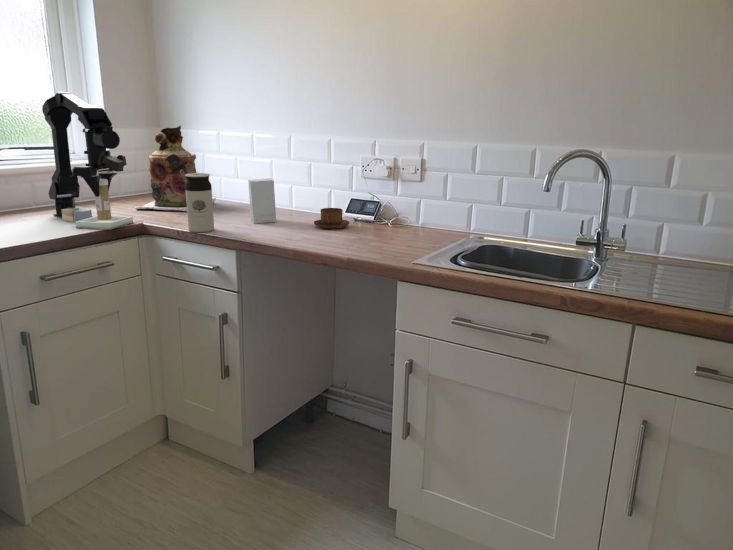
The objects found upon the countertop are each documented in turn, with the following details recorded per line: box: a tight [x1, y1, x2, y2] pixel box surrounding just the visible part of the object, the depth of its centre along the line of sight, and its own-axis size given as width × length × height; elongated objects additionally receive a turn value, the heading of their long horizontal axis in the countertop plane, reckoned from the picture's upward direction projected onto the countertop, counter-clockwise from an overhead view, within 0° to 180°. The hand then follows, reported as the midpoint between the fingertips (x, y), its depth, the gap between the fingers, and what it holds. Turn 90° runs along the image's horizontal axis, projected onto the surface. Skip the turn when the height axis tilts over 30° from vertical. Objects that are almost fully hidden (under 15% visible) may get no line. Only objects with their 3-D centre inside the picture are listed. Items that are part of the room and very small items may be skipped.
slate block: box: [73, 208, 93, 223], centre depth 195 cm, size 4×4×4 cm
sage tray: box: [74, 215, 134, 230], centre depth 190 cm, size 13×13×2 cm
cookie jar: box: [134, 124, 217, 212], centre depth 225 cm, size 25×25×32 cm
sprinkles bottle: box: [94, 179, 112, 221], centre depth 188 cm, size 5×5×14 cm
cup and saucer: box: [313, 207, 350, 230], centre depth 190 cm, size 12×12×6 cm
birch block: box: [61, 207, 80, 222], centre depth 198 cm, size 4×4×4 cm
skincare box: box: [247, 177, 277, 225], centre depth 197 cm, size 8×6×15 cm
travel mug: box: [185, 172, 215, 233], centre depth 181 cm, size 8×8×18 cm
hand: (101, 195), depth 187 cm, fingers closed on sprinkles bottle, 4 cm apart
